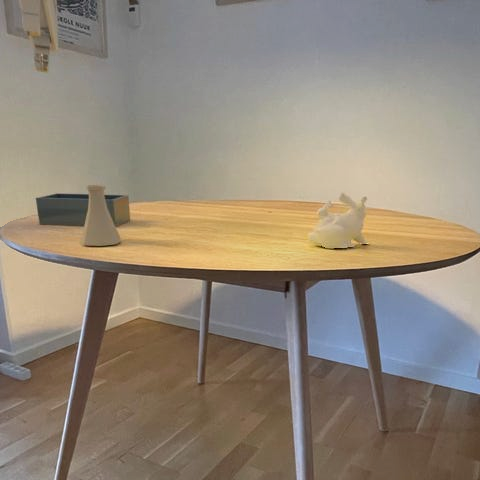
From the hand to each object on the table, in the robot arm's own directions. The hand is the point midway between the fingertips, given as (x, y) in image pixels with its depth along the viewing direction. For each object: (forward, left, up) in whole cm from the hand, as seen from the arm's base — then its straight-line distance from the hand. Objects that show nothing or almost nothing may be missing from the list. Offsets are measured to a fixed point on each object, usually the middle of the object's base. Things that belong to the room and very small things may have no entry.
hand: (37, 52), depth 60 cm
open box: (-13, +36, -28) cm, 47 cm away
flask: (-1, +16, -28) cm, 32 cm away
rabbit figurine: (+42, +20, -28) cm, 54 cm away
